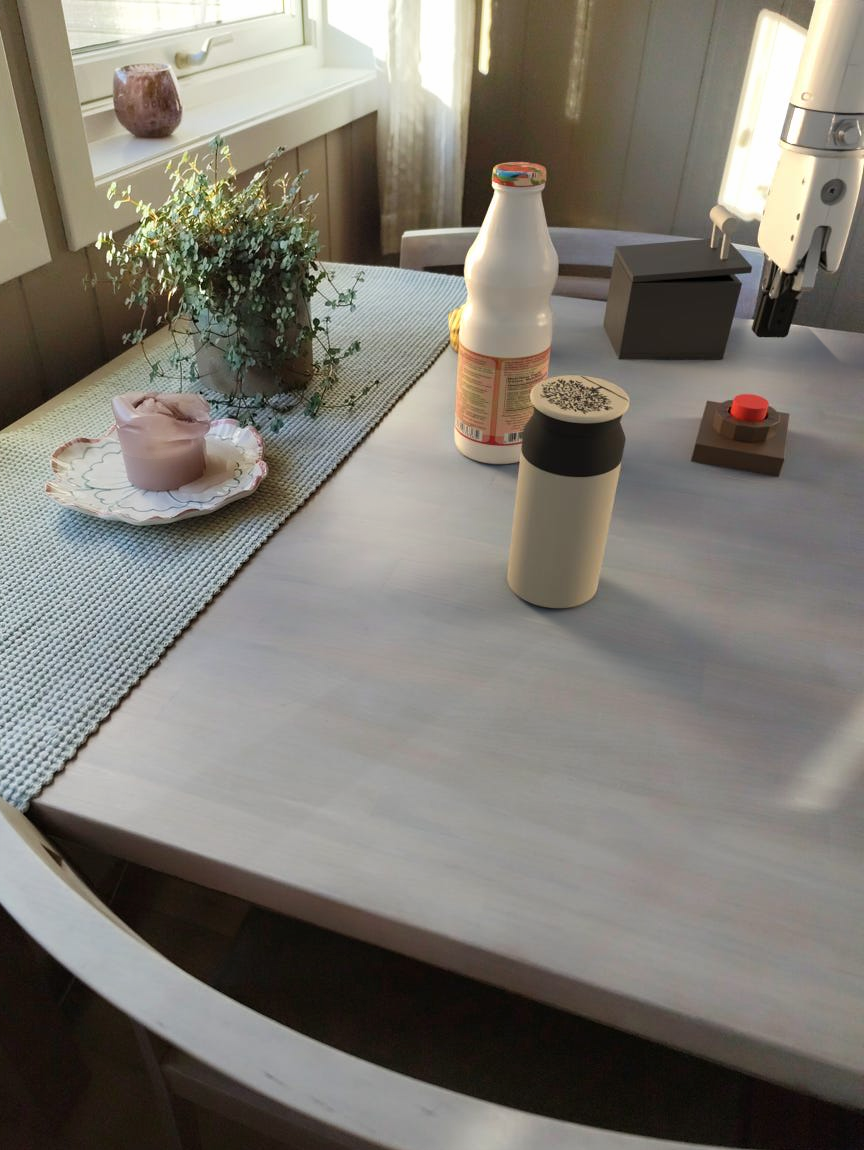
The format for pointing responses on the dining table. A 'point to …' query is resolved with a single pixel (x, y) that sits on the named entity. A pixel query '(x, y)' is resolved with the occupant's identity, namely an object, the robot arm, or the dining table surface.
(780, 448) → the panel
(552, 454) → the travel mug
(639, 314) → the dark hinged lid box
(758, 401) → the button
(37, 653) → the dining table surface
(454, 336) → the seashell
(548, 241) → the fruit juice
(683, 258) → the lid
